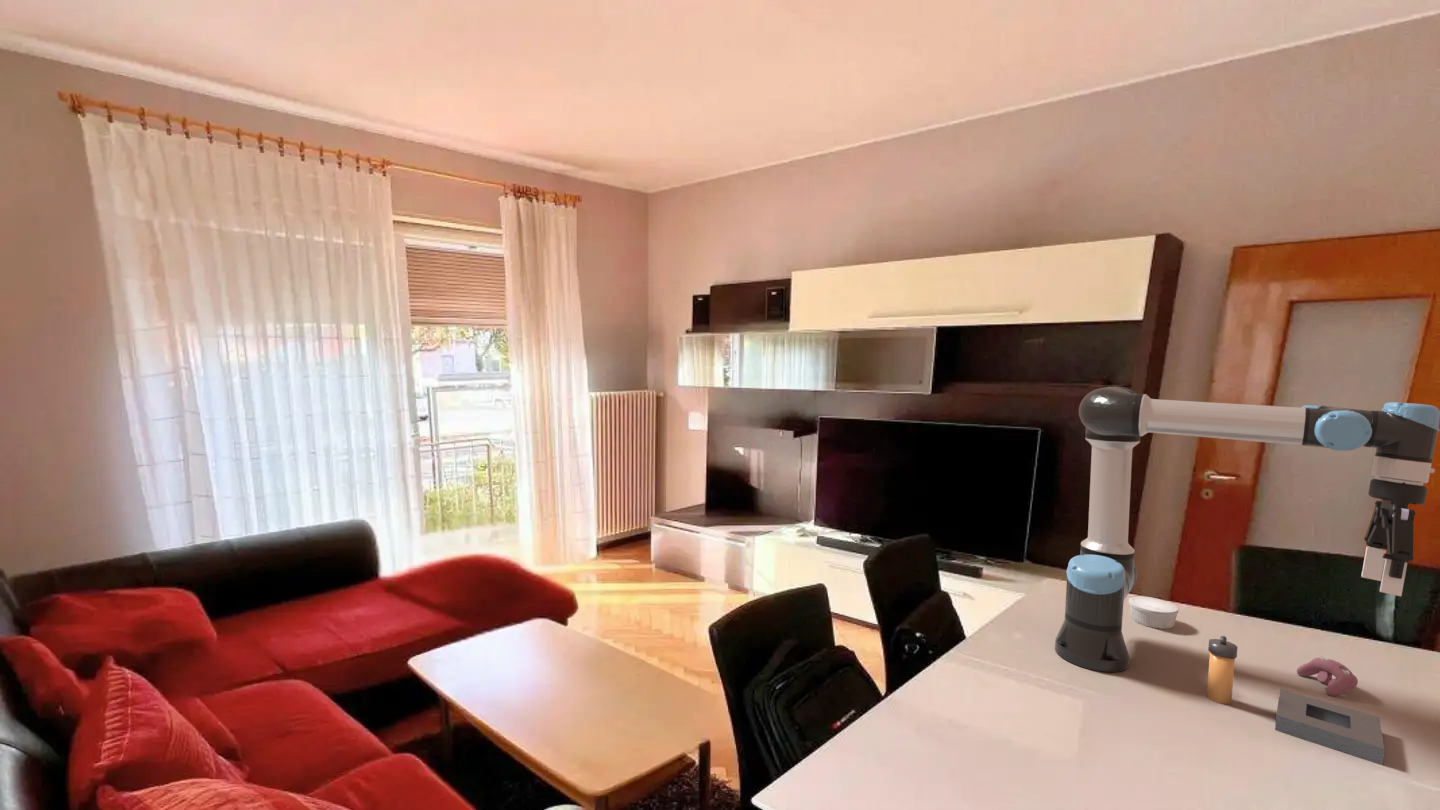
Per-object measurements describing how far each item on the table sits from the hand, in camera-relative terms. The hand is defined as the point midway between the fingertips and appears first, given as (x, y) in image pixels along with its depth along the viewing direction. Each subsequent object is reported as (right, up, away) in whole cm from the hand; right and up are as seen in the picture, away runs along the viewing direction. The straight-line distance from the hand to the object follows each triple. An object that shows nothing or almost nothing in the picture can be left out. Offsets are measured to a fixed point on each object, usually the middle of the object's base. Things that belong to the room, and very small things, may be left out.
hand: (1380, 586), depth 120 cm
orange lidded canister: (-26, -26, +7) cm, 38 cm away
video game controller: (+2, -26, +13) cm, 30 cm away
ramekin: (-13, -24, +46) cm, 53 cm away
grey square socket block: (-15, -27, -4) cm, 31 cm away
